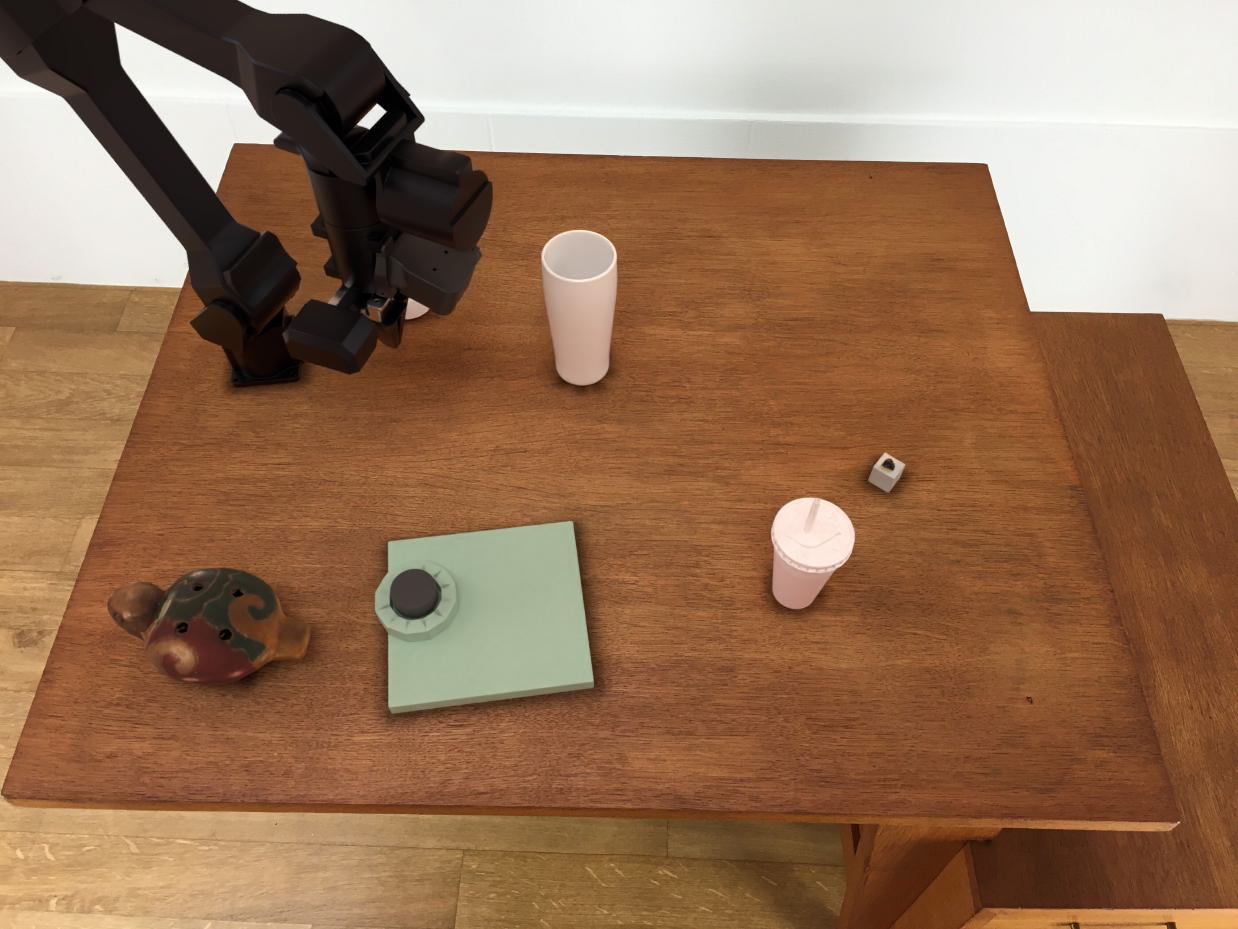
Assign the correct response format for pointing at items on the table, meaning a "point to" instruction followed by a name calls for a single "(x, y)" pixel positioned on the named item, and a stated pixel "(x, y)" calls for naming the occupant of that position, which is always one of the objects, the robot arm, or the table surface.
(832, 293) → the table surface
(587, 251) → the drinking glass
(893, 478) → the cube with dark pebbles
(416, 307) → the lidless jar
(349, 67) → the robot arm
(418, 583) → the power button
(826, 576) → the smoothie
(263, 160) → the table surface
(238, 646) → the multicoloured rounded piece
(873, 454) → the table surface
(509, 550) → the scale
